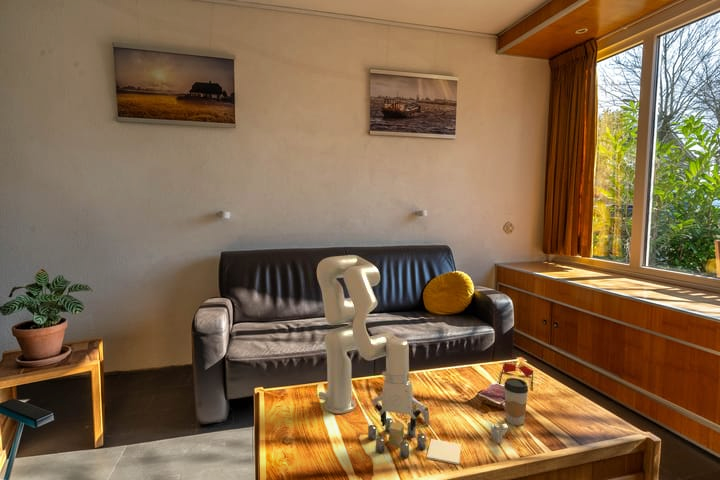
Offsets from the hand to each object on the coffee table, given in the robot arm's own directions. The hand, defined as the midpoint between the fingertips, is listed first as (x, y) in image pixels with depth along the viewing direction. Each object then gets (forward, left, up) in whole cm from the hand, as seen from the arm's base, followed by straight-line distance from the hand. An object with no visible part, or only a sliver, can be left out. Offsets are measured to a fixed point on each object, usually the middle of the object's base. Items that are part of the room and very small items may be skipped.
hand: (398, 426), depth 132 cm
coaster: (+15, 0, -6) cm, 16 cm away
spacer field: (-1, 0, -6) cm, 6 cm away
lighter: (+32, +11, -6) cm, 35 cm away
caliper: (+3, +24, -7) cm, 25 cm away
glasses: (+41, +64, -7) cm, 77 cm away
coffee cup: (+38, +27, -6) cm, 48 cm away
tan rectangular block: (-1, 0, -6) cm, 6 cm away
